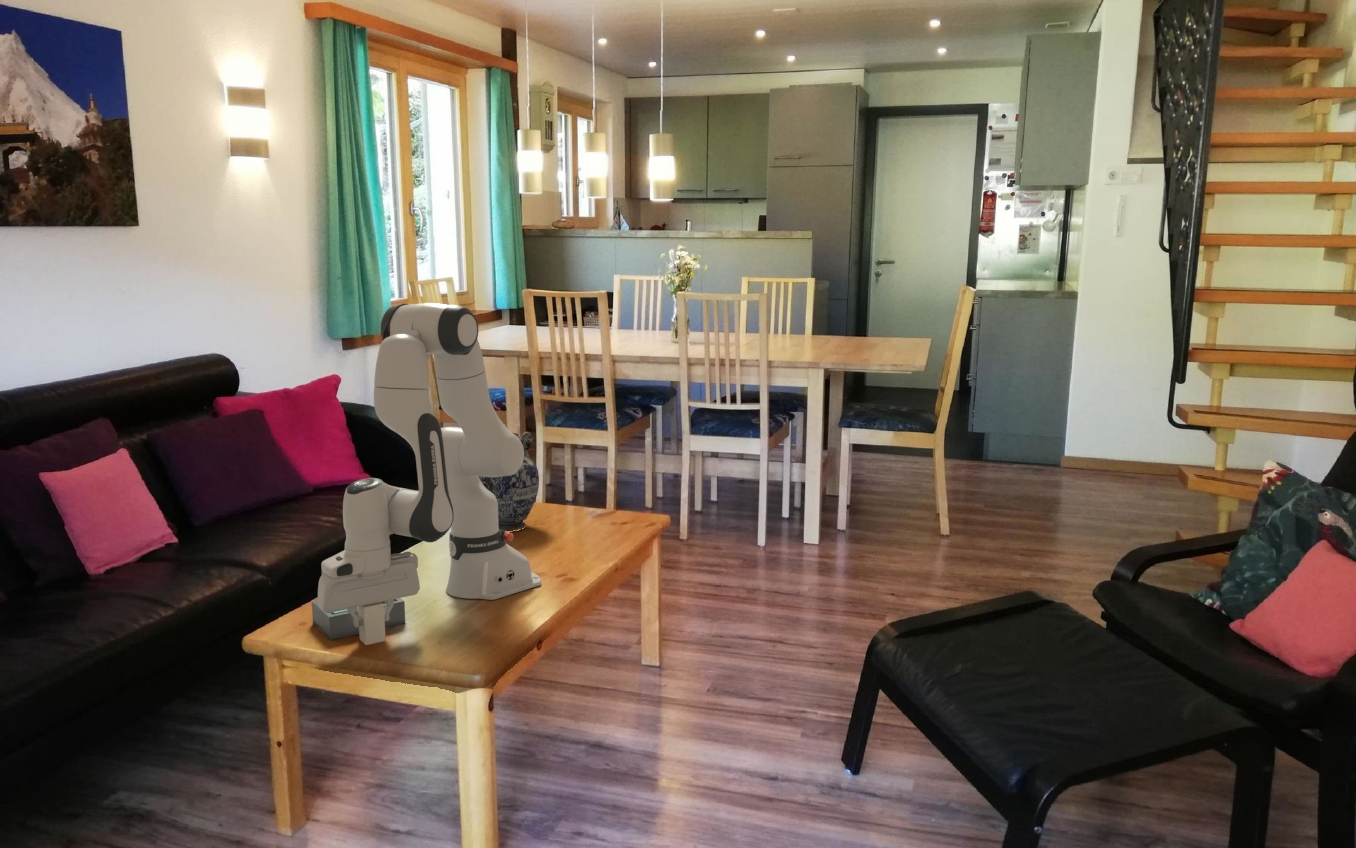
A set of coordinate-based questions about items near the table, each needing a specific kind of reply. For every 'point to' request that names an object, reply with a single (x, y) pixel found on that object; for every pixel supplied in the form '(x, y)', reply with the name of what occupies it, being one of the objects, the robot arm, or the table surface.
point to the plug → (372, 623)
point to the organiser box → (351, 620)
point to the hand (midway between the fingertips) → (371, 623)
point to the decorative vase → (515, 490)
